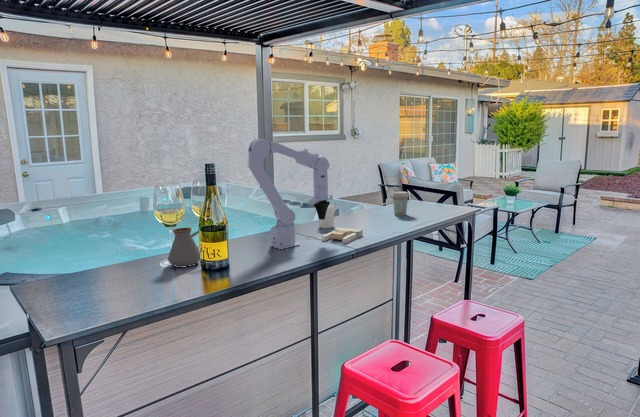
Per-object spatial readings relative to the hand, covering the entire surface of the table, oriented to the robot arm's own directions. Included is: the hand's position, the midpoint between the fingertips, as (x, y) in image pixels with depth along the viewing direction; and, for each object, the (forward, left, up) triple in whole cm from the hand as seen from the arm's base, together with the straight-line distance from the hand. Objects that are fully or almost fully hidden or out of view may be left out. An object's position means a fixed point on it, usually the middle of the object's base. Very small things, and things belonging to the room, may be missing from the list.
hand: (321, 219), depth 176 cm
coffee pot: (-50, +10, -10) cm, 52 cm away
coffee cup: (+61, +12, -10) cm, 63 cm away
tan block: (+7, -3, -9) cm, 12 cm away
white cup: (+17, +19, -10) cm, 28 cm away
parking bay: (+9, -2, -9) cm, 13 cm away
